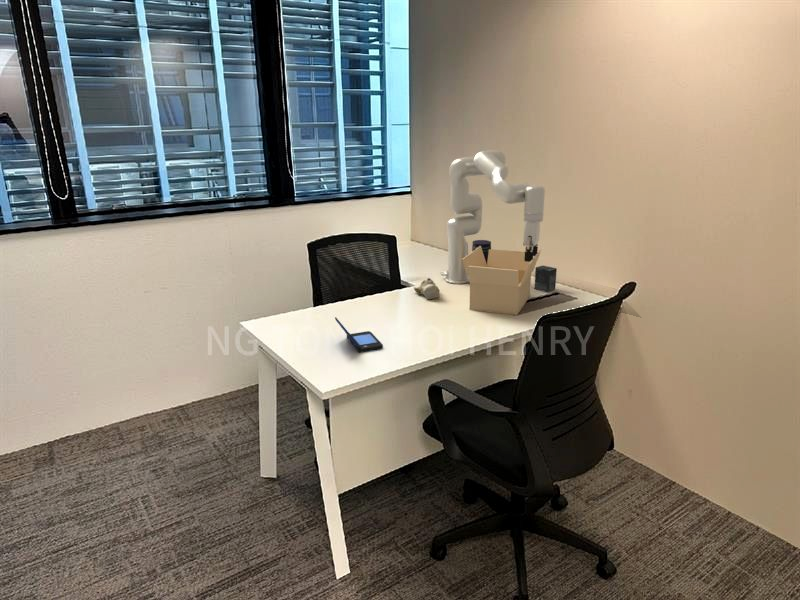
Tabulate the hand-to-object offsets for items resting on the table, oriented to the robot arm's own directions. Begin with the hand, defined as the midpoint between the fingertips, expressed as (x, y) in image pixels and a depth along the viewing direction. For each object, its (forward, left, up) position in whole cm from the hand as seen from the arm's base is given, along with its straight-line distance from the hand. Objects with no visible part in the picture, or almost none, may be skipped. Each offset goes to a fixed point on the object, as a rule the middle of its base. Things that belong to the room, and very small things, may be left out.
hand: (530, 258), depth 218 cm
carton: (-14, 0, -21) cm, 25 cm away
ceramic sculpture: (-45, -2, -21) cm, 49 cm away
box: (+3, +26, -21) cm, 34 cm away
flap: (0, 0, -4) cm, 4 cm away
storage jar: (-35, +50, -21) cm, 64 cm away
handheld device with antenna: (-48, -62, -21) cm, 81 cm away
